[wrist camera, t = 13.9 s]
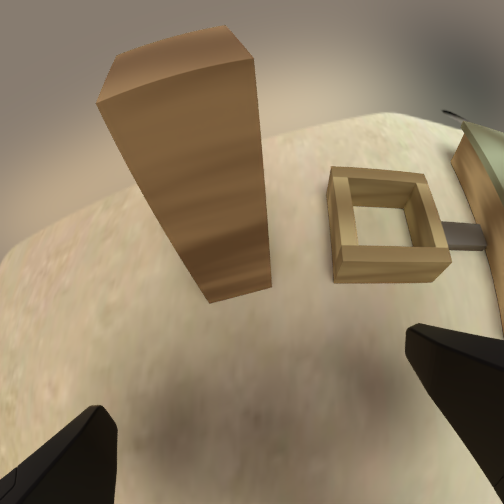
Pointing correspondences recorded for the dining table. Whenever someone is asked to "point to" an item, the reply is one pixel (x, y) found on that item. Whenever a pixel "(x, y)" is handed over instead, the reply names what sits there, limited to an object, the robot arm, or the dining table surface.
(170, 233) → the brown wooden block
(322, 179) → the dining table surface
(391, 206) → the wooden box with frame
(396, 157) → the dining table surface
